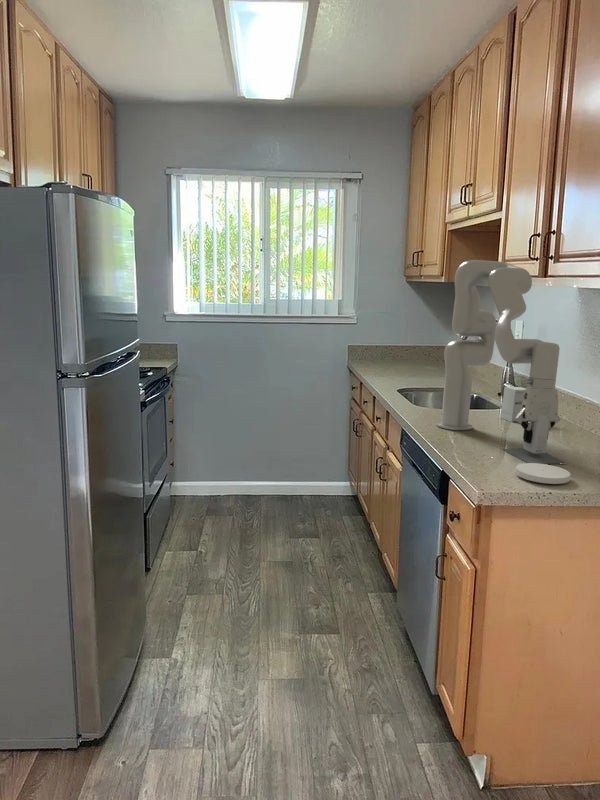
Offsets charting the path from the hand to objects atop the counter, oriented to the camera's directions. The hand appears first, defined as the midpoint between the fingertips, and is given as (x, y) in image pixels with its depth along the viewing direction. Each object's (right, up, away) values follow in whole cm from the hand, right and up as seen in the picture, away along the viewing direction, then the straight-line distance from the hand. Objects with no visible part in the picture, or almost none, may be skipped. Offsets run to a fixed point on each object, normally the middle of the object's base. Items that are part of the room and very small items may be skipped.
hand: (535, 441), depth 196 cm
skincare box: (0, -3, +1) cm, 3 cm away
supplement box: (+12, +5, +54) cm, 56 cm away
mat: (0, -5, +1) cm, 5 cm away
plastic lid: (-6, -9, -21) cm, 23 cm away
